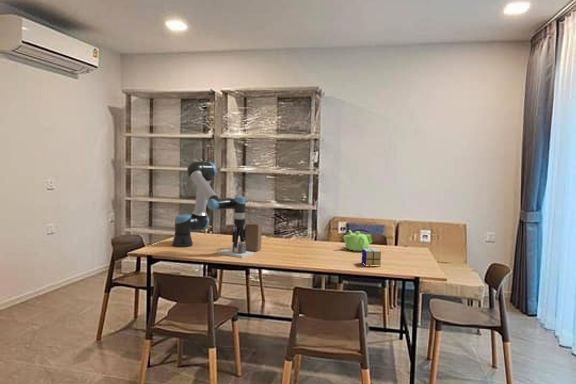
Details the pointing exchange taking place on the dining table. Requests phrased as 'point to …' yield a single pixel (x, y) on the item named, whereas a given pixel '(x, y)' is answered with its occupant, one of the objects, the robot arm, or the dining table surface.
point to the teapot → (357, 241)
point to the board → (234, 253)
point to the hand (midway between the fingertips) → (238, 251)
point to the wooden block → (253, 236)
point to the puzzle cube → (371, 256)
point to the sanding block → (240, 247)
